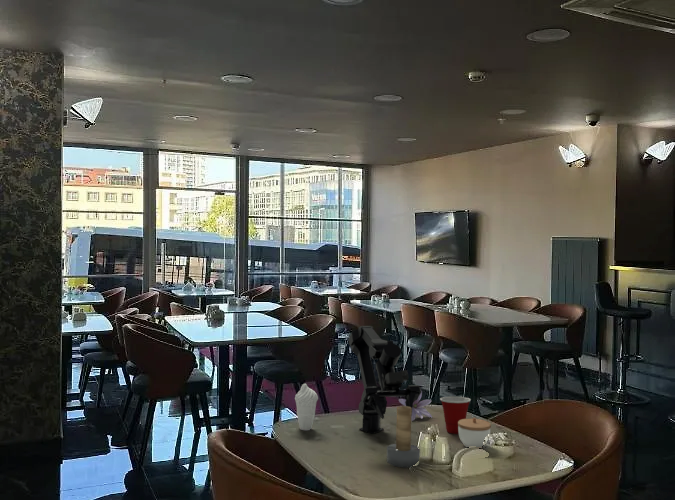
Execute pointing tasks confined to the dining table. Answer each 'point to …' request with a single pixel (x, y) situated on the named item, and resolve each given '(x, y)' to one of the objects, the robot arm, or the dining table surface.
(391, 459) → the grey round bowl
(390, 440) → the dining table surface
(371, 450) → the dining table surface
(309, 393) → the soft serve ice cream cone
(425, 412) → the water lily
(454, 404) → the plastic cup
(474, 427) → the lidded jar
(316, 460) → the dining table surface
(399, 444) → the oak pillar
